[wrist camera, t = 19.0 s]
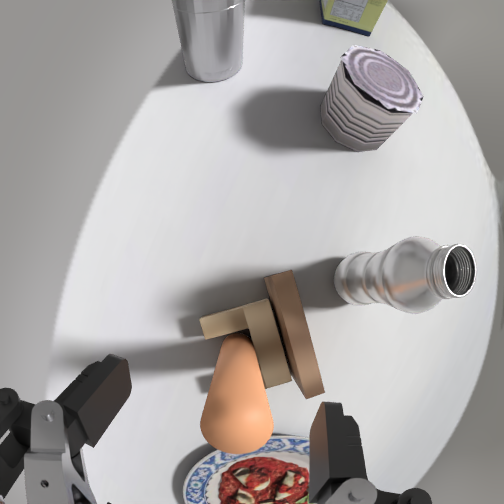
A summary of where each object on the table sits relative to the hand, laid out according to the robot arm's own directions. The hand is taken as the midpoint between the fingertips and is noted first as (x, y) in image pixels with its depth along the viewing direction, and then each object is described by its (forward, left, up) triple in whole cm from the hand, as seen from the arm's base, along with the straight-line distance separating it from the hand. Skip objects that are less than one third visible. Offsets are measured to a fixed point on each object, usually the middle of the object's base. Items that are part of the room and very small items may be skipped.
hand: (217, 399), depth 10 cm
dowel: (+3, 0, -24) cm, 24 cm away
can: (-23, +25, -24) cm, 41 cm away
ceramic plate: (+28, -3, -24) cm, 37 cm away
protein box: (-53, +38, -24) cm, 69 cm away
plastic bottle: (-1, +16, -24) cm, 29 cm away
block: (+3, +1, -24) cm, 24 cm away
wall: (+2, +6, -24) cm, 25 cm away
